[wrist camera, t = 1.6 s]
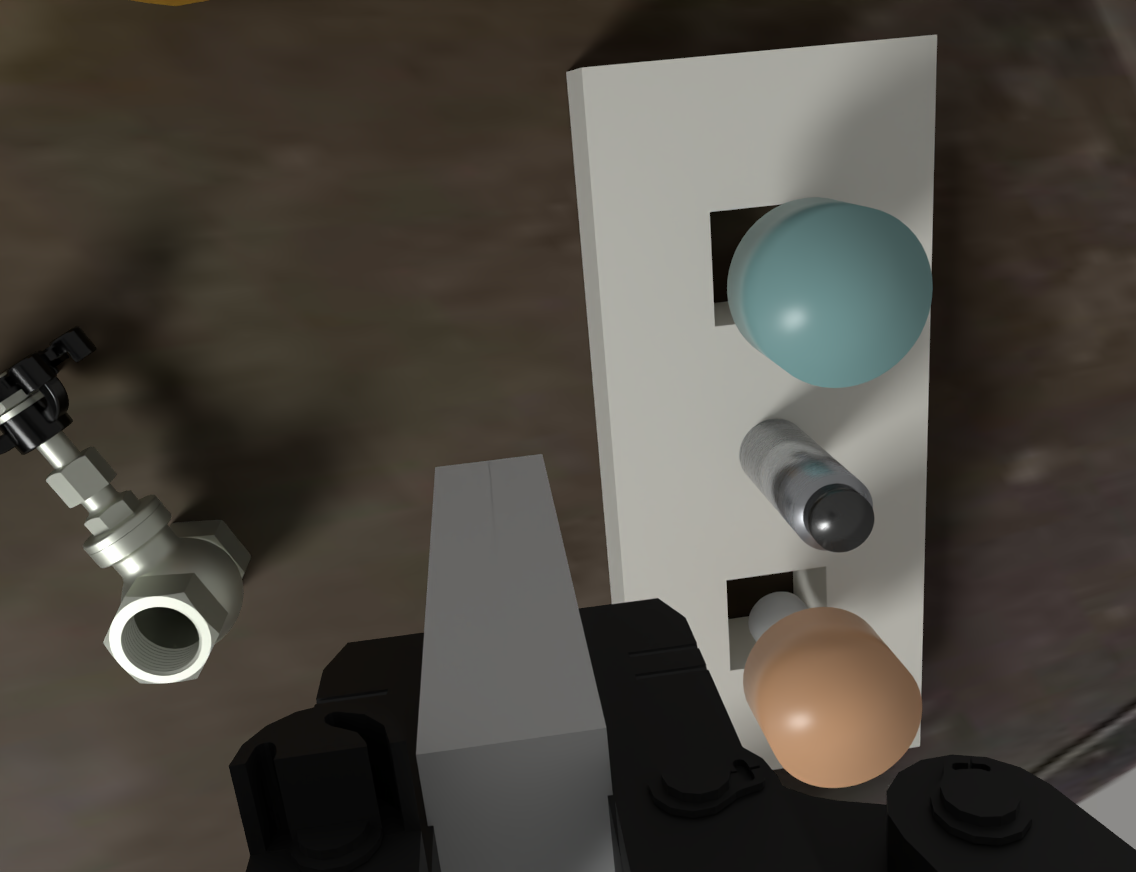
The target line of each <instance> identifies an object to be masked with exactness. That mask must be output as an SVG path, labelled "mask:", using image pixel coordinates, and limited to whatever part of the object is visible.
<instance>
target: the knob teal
mask: <svg viewBox="0 0 1136 872" xmlns="http://www.w3.org/2000/svg"><path fill="white" fill-rule="evenodd" d="M932 291H933V286H932V274H931V268H930V264H929V261H928V257H927V255H926V252H925V250H924V248H923V246H922V244H921V243H920V241H919V240H918V238H917V237H916V235H915V234H914V233H913V232H912V231H911V230H910V229H909V228H908V227H907V226H906V225H905V224H904V223H902V222H901V221H900V220H899V219H897V218H895V217H894V216H892V215H890V214H888V213H886V212H883V211H881V210H878V209H874V208H870V207H865V206H861V205H856V204H852V203H847V202H843V201H838V200H834V199H829V198H820V197H810V198H802V199H796V200H793V201H790V202H787V203H784V204H782V205H780V206H778V207H776V208H774V209H772V210H771V211H769V212H768V213H766V214H765V215H764V216H762V217H761V218H760V219H759V220H758V221H756V222H755V224H754V225H753V226H752V227H751V228H750V229H749V230H748V231H747V233H746V234H745V235H744V237H743V238H742V240H741V241H740V243H739V245H738V247H737V248H736V251H735V253H734V256H733V258H732V261H731V265H730V268H729V273H728V280H727V296H728V304H729V308H730V312H731V315H732V317H733V320H734V323H735V324H736V326H737V328H738V330H739V331H740V333H741V334H742V335H743V337H744V338H745V339H746V340H747V341H748V342H749V343H750V344H751V345H752V346H753V347H754V348H755V349H757V350H758V351H759V352H761V353H762V354H763V355H765V356H766V357H767V358H769V359H770V360H772V361H773V362H774V363H776V364H777V365H778V366H780V367H781V368H782V369H784V370H785V371H786V372H788V373H789V374H790V375H792V376H793V377H795V378H797V379H799V380H801V381H803V382H806V383H808V384H811V385H815V386H820V387H827V388H843V387H850V386H855V385H859V384H862V383H865V382H868V381H870V380H872V379H874V378H877V377H879V376H880V375H882V374H884V373H885V372H887V371H888V370H890V369H891V368H892V367H893V366H895V365H896V364H897V363H898V362H899V361H900V360H901V359H902V358H903V357H904V356H905V355H906V354H907V353H908V352H909V350H910V349H911V348H912V347H913V345H914V344H915V342H916V341H917V339H918V338H919V336H920V334H921V332H922V330H923V328H924V326H925V323H926V321H927V318H928V315H929V311H930V306H931V302H932Z"/></svg>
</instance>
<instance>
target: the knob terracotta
mask: <svg viewBox="0 0 1136 872" xmlns="http://www.w3.org/2000/svg"><path fill="white" fill-rule="evenodd" d="M748 626H749V630H750V633H751V634H752V636H753V638H754V639H755V641H756V643H755V645H754V646H753V648H752V650H751V652H750V654H749V656H748V658H747V661H746V664H745V668H744V674H743V688H744V694H745V697H746V700H747V703H748V705H749V707H750V709H751V711H752V713H753V715H754V716H755V718H756V720H757V722H758V724H759V726H760V728H761V730H762V732H763V733H764V735H765V737H766V739H767V741H768V743H769V745H770V747H771V749H772V751H773V752H774V754H775V756H776V758H777V760H778V761H779V763H780V764H781V765H782V767H783V768H784V769H785V770H786V771H787V772H788V773H790V774H791V775H792V776H793V777H795V778H797V779H799V780H800V781H802V782H805V783H807V784H810V785H814V786H818V787H825V788H841V787H849V786H853V785H857V784H860V783H863V782H866V781H868V780H871V779H873V778H875V777H877V776H878V775H880V774H882V773H883V772H885V771H886V770H888V769H889V768H890V767H892V766H893V765H894V764H895V763H896V762H897V761H898V760H899V759H900V758H901V757H902V756H903V755H904V754H905V752H906V751H907V750H908V748H909V747H910V745H911V744H912V742H913V740H914V738H915V736H916V734H917V732H918V729H919V726H920V722H921V717H922V698H921V694H920V690H919V687H918V685H917V683H916V681H915V679H914V677H913V676H912V675H911V673H910V672H909V671H908V670H907V668H906V667H905V666H904V665H903V664H902V663H901V661H900V660H899V659H898V658H897V657H896V655H895V654H894V653H893V652H892V651H891V650H890V648H889V647H888V646H887V645H886V644H885V642H884V641H883V640H882V639H881V638H880V637H879V635H878V634H877V633H876V632H875V631H874V629H873V628H872V627H871V626H870V625H869V624H868V623H867V622H866V621H865V620H864V619H862V618H861V617H859V616H858V615H856V614H854V613H851V612H849V611H846V610H843V609H839V608H833V607H815V608H809V609H808V608H807V606H806V605H805V604H804V602H803V601H802V600H801V599H800V598H799V597H798V596H796V595H794V594H792V593H789V592H774V593H771V594H768V595H766V596H764V597H763V598H761V599H760V600H759V601H758V602H757V603H756V604H755V605H754V606H753V608H752V610H751V612H750V615H749V619H748Z"/></svg>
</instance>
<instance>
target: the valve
mask: <svg viewBox="0 0 1136 872" xmlns="http://www.w3.org/2000/svg"><path fill="white" fill-rule="evenodd" d="M49 345H50V347H48V348H47V349H45V350H44V351H38V352H34V353H32V354H30V355H29V356H27V357H26V358H24V359H22V360H21V361H19V362H18V363H16V364H15V365H13V366H12V367H10V368H9V369H7V371H6V372H4V373H2V374H1V375H0V415H1V416H0V430H1V432H2V433H3V435H1V436H0V454H3V453H6V452H7V451H9V450H11V449H12V448H14V447H15V448H16V449H17V450H18V451H19V452H20V453H21V454H22V455H25V454H27V453H29V452H30V451H32V450H34V449H35V448H37V449H38V450H39V451H40V453H41V454H42V455H43V456H44V457H45V458H46V460H47V461H48V462H49V463H50V464H51V465H52V466H53V468H54V469H55V470H54V471H52V472H51V473H50V474H49V475H48V476H47V479H46V481H47V483H48V484H49V485H50V486H51V487H52V488H53V489H54V491H55V492H56V493H57V494H58V495H59V496H60V497H61V499H62V500H63V501H64V502H65V503H66V504H67V505H68V507H69V508H72V507H74V506H76V505H78V504H80V503H81V504H82V505H83V506H84V507H85V508H86V509H87V511H88V512H89V517H88V518H87V519H86V521H85V524H84V525H85V526H86V527H87V528H88V529H89V531H90V532H91V533H92V535H91V536H90V537H89V538H88V539H87V540H86V541H85V543H84V544H83V548H84V550H85V551H86V552H87V553H88V554H89V555H90V556H91V558H92V559H93V560H94V561H95V562H96V563H97V564H98V565H99V567H101V568H107V567H109V566H113V567H114V568H115V570H116V571H117V572H118V573H119V574H120V575H121V576H122V578H123V580H124V585H123V588H122V596H121V605H120V607H119V609H118V611H117V614H116V616H115V618H114V620H113V622H112V624H111V626H110V628H109V631H108V633H107V635H106V637H105V639H104V642H103V643H104V645H105V646H106V648H107V649H108V651H109V652H110V653H111V655H112V656H113V657H114V658H115V659H116V661H117V662H118V663H119V664H120V665H121V666H122V667H123V668H124V669H125V670H126V671H127V672H128V673H129V674H130V675H131V676H132V677H133V678H134V679H135V680H137V681H138V682H139V683H149V684H156V683H172V682H180V681H187V680H192V679H197V678H198V676H199V674H200V672H201V670H202V668H203V666H204V664H205V662H206V660H207V658H208V656H209V654H210V652H211V650H212V648H213V646H214V644H215V643H217V642H218V641H220V640H221V639H222V638H223V637H224V636H225V635H226V634H227V633H228V632H229V630H230V629H231V628H232V627H233V625H234V623H235V622H236V620H237V618H238V616H239V613H240V610H241V607H242V602H243V594H244V593H243V582H242V577H243V575H244V573H245V571H246V569H247V566H248V564H249V561H250V559H251V557H252V556H251V555H250V553H249V552H248V551H247V549H246V548H245V547H244V546H243V544H242V543H241V542H240V541H239V539H238V538H237V537H236V536H235V535H234V533H233V532H232V531H231V530H230V528H229V527H228V526H227V525H226V524H225V522H224V521H223V520H205V521H189V522H175V523H172V524H171V525H170V527H169V526H168V525H167V524H168V522H169V521H170V519H171V513H170V512H169V511H168V510H167V509H166V507H165V506H164V505H163V504H162V503H161V502H160V500H159V499H158V498H157V497H156V496H155V495H148V496H146V497H144V498H142V499H140V500H138V498H137V497H136V496H135V495H134V494H133V492H132V491H131V490H130V491H124V492H122V493H119V492H117V491H116V490H115V488H114V487H113V486H112V485H111V484H110V482H111V481H112V480H113V479H114V478H115V476H116V475H117V473H116V472H115V471H114V470H113V469H112V468H111V466H110V465H109V464H108V463H107V462H106V460H105V459H104V458H103V457H102V456H101V454H100V453H99V452H98V451H97V450H96V449H95V447H89V448H86V449H85V450H83V451H81V452H80V451H79V450H78V449H77V448H76V446H75V445H74V444H73V443H72V442H71V440H70V439H69V438H68V437H67V436H66V435H65V433H64V432H63V431H62V430H63V429H65V428H66V427H67V426H69V425H70V424H71V423H72V422H73V419H72V418H71V417H70V416H69V415H68V413H67V410H68V407H69V399H68V395H67V392H66V390H65V388H64V386H63V385H62V383H61V382H60V380H59V379H58V378H57V377H56V376H57V373H59V370H58V369H57V368H56V366H57V365H58V364H60V363H61V362H63V361H64V360H66V359H67V358H69V356H68V355H67V352H68V353H69V354H70V356H71V357H72V358H73V359H74V361H75V362H79V361H80V360H82V359H83V358H85V357H86V356H88V355H89V354H91V353H92V352H94V351H95V350H96V349H97V348H96V347H95V345H94V344H93V343H92V342H91V340H90V339H89V338H88V337H87V336H86V334H85V333H84V332H83V331H82V329H81V328H80V327H79V326H75V327H74V328H72V329H70V330H69V331H67V332H66V333H64V334H63V335H61V336H59V337H58V338H56V339H55V340H53V341H52V342H50V344H49ZM5 412H6V413H5ZM3 413H4V414H3ZM2 414H3V415H2Z"/></svg>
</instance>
